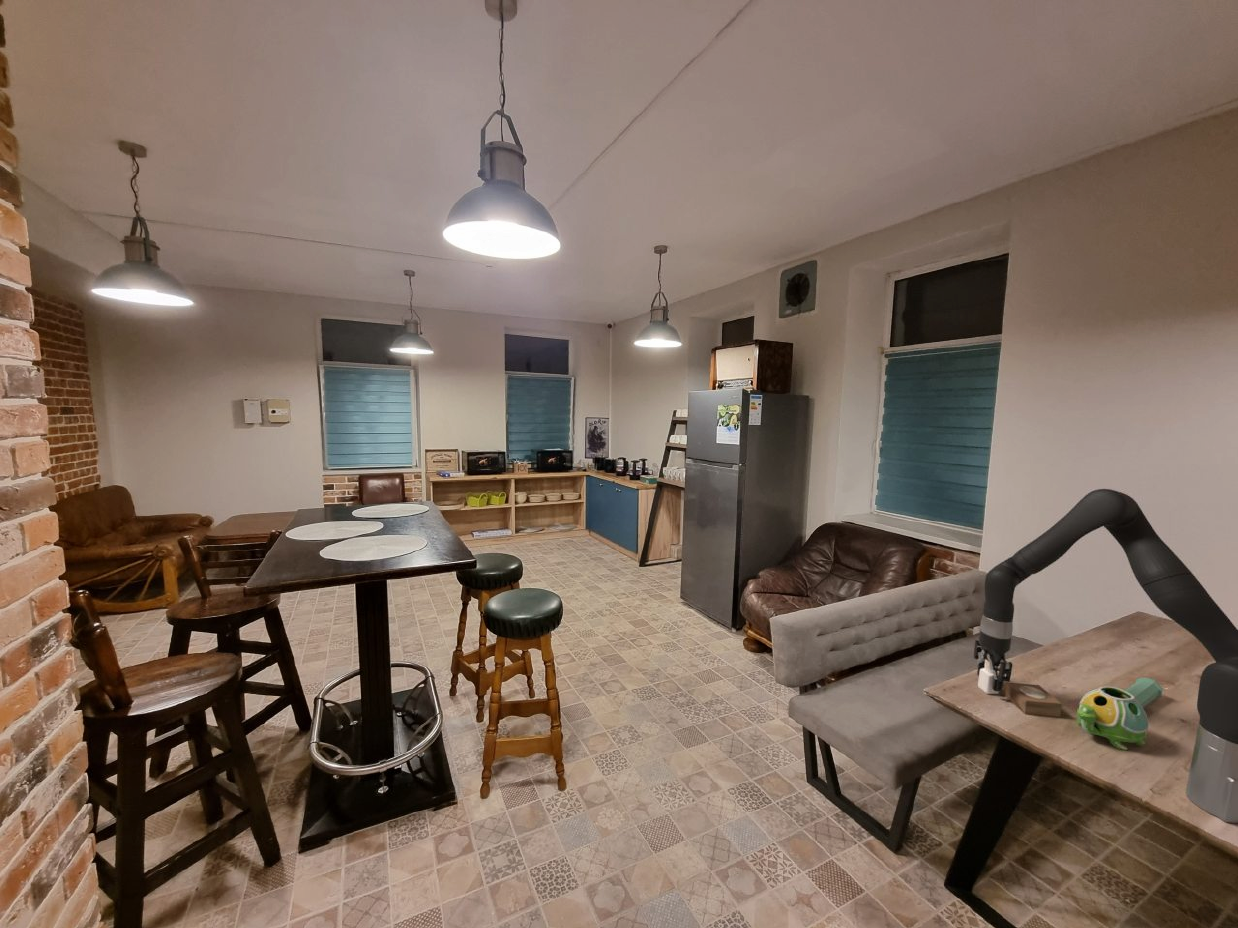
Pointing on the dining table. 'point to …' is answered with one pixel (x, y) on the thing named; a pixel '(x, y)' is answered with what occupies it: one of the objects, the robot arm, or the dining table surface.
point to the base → (1032, 699)
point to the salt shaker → (987, 679)
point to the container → (1144, 690)
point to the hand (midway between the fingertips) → (988, 683)
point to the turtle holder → (1113, 716)
